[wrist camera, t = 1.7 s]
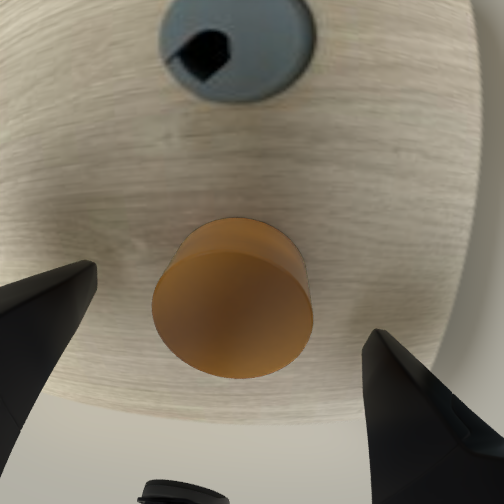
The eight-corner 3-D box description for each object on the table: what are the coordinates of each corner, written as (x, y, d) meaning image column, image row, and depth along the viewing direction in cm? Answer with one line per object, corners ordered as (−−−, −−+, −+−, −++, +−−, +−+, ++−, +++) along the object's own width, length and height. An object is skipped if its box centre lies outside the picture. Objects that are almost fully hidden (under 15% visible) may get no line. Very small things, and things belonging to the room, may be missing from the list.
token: (329, 301, 11) (339, 347, 9) (222, 348, 12) (212, 393, 10) (261, 189, 9) (257, 216, 7) (148, 258, 11) (120, 296, 9)
